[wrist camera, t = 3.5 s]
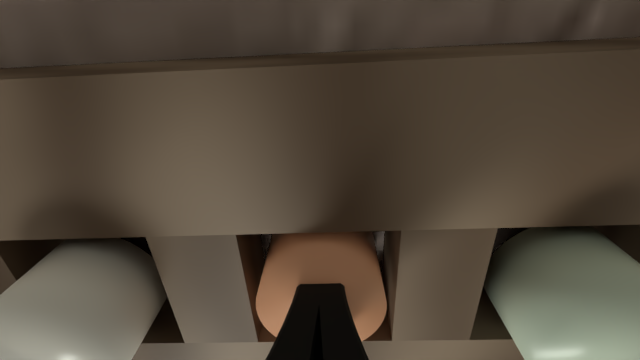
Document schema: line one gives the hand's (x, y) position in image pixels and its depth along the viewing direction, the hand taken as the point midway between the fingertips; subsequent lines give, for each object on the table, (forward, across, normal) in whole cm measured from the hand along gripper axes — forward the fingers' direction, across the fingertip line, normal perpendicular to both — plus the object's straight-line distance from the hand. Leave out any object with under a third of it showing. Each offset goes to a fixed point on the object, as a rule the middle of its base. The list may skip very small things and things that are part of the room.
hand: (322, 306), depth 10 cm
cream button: (+1, +7, 0) cm, 8 cm away
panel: (+3, 0, 0) cm, 3 cm away
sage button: (+1, -8, 0) cm, 8 cm away
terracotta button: (+3, 0, 0) cm, 3 cm away
